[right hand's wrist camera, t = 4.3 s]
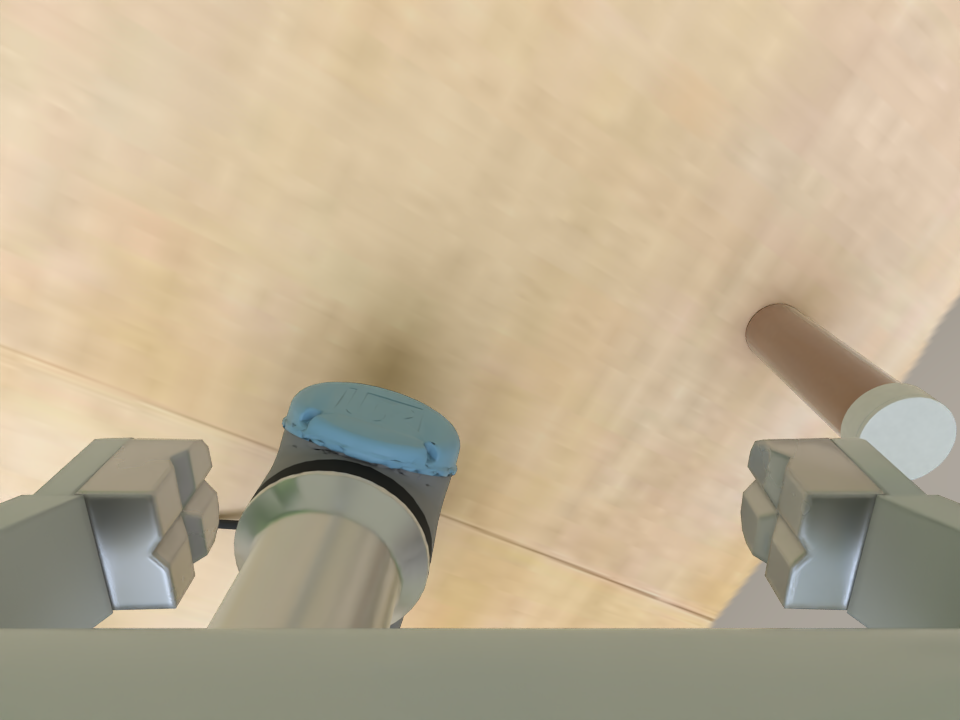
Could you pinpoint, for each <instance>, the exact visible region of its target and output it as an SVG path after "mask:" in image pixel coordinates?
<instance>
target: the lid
mask: <svg viewBox="0 0 960 720" xmlns="http://www.w3.org/2000/svg"><path fill="white" fill-rule="evenodd" d="M841 438H861V439H864V440H867V441H868V442H869V443H870V444H871V445H872V446H873V447H875V448H876V449H877V450H878V451H879V452H880V453H881V454H882V455H883V456H884V457H886V458H887V459H888V460H889V461H890V462H891V463H892V464H893V465H894V466H896V467H897V468H898V469H899V470H900V471H901V472H902V473H903V474H904V475H906V476H907V477H908V478H909V479H910V480H914V479H917V478H919V477H922V476H924V475H926V474H927V473H929V472H931V471H932V470H934V469H935V468H936V467H937V466H939V465H940V464H941V463H942V462H943V461H944V459H945V458H946V457H947V456H948V454H949V453H950V451H951V449H952V447H953V445H954V442H955V438H956V422H955V419H954V417H953V415H952V413H951V412H950V410H949V409H948V408H947V407H946V406H945V405H943V404H942V403H940V402H939V401H938V400H936V399H935V398H933V397H932V396H930V395H929V394H927V393H926V392H924V391H923V390H921V389H920V388H918V387H916V386H914V385H910V384H905V383H890V384H885V385H881V386H878V387H875V388H873V389H871V390H869V391H867V392H866V393H864V394H863V395H861V396H860V397H859V398H858V399H857V400H856V401H855V402H854V403H853V404H852V405H851V406H850V408H849V409H848V410H847V412H846V414H845V416H844V418H843V421H842V425H841Z"/></svg>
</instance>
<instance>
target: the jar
mask: <svg viewBox="0 0 960 720" xmlns="http://www.w3.org/2000/svg"><path fill="white" fill-rule="evenodd" d="M746 341H747V344H748V347H749V348H750V350H751V351H752V352H753V353H754V354H755V355H756V356H757V357H758V358H759V359H760V360H761V361H762V362H763V363H764V364H765V365H766V366H768V367H769V368H770V369H771V370H772V371H773V372H774V373H775V374H776V375H777V376H778V377H779V378H780V379H781V380H782V381H783V382H784V383H785V384H786V385H787V386H788V387H789V388H790V389H791V390H792V391H793V392H794V393H795V394H796V395H797V396H798V397H799V398H800V399H801V400H802V401H803V402H805V403H806V404H807V405H808V406H809V407H810V408H811V409H812V410H813V411H814V412H815V413H816V414H817V415H818V416H819V417H820V418H821V419H822V420H823V421H824V422H825V423H826V424H827V425H828V426H829V427H830V428H831V429H832V430H833V431H834V432H835V433H836V434H837V435H838V436H839V437H840V438H841V425H842V421H843V418H844V416H845V414H846V412H847V410H848V409H849V408H850V406H851V405H852V404H853V403H854V402H855V401H856V400H857V399H858V398H859V397H860V396H861V395H863V394H864V393H866V392H867V391H869V390H871V389H873V388H875V387H878V386H881V385H885V384H890V383H900V382H899V381H898V380H896V379H895V378H893V377H892V376H890V375H889V374H888V373H886V372H885V371H883V370H882V369H881V368H879V367H878V366H876V365H875V364H873V363H872V362H871V361H869V360H868V359H866V358H865V357H863V356H862V355H861V354H859V353H858V352H856V351H855V350H854V349H852V348H851V347H849V346H848V345H846V344H845V343H844V342H842V341H841V340H839V339H838V338H836V337H835V336H834V335H832V334H831V333H829V332H828V331H827V330H825V329H824V328H822V327H821V326H819V325H818V324H817V323H815V322H814V321H812V320H811V319H809V318H808V317H807V316H805V315H804V314H802V313H801V312H799V311H798V310H797V309H795V308H794V307H792V306H789V305H786V304H774V305H770V306H767V307H765V308H763V309H761V310H760V311H759V312H757V313H756V314H755V315H754V316H753V317H752V319H751V320H750V322H749V324H748V326H747V330H746Z"/></svg>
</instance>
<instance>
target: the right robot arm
mask: <svg viewBox="0 0 960 720" xmlns="http://www.w3.org/2000/svg"><path fill="white" fill-rule="evenodd" d="M211 468H212V462H211V457H210V453H209V448H208V446H207V445H206V444H205V442H204V441H203V440H197V439H142V438H137V439H134V438H104V439H95V440H93V441H92V442H91V443H90V444H89V445H88V446H87V447H86V448H85V449H83V450H82V451H81V452H80V453H79V454H78V455H77V456H76V457H75V458H73V459H72V460H71V461H70V462H69V463H68V464H67V465H66V466H65V467H63V468H62V469H61V470H60V471H59V472H58V473H57V474H56V475H55V476H53V477H52V478H51V479H50V480H49V481H48V482H47V483H46V484H45V485H43V486H42V487H41V488H40V489H39V490H38V491H37V492H36V493H35V494H33V495H20V496H18V497H15V498H13V499H10V500H8V501H5V502H3V503H0V720H960V503H957V502H955V501H952V500H950V499H947V498H945V497H942V496H940V495H927V494H925V493H924V492H923V491H922V490H921V489H920V488H919V487H918V486H917V485H915V484H914V483H913V482H912V481H911V480H910V479H909V478H908V477H907V476H906V475H904V474H903V473H902V472H901V471H900V470H899V469H898V468H897V467H896V466H894V465H893V464H892V463H891V462H890V461H889V460H888V459H887V458H886V457H884V456H883V455H882V454H881V453H880V452H879V451H878V450H877V449H876V448H875V447H873V446H872V445H871V444H870V443H869V442H868V441H867V440H864V439H861V438H834V439H829V438H813V439H771V440H759V441H755V442H754V445H753V447H752V449H751V451H750V456H749V462H748V468H749V470H750V471H751V473H752V474H753V476H754V477H755V479H756V480H755V481H754V482H753V483H752V484H751V485H750V486H749V487H748V488H747V489H746V490H745V491H744V492H743V498H742V506H741V522H742V531H743V534H744V537H745V541H746V544H747V545H748V547H749V549H750V551H751V553H752V554H753V555H754V556H755V557H757V558H759V559H760V560H762V561H764V562H765V563H767V566H766V572H765V577H766V578H767V580H768V582H769V583H770V585H771V587H772V589H773V590H774V592H775V594H776V595H777V597H778V599H779V600H780V602H781V604H782V605H783V607H784V608H788V609H825V610H847V613H848V614H849V615H851V616H852V617H853V618H855V619H856V620H857V621H859V622H860V623H862V624H863V625H864V626H866V627H867V628H93V627H95V626H96V625H97V624H99V623H100V622H101V621H103V620H104V619H106V618H107V617H108V616H110V615H111V614H112V613H113V611H112V610H134V609H170V608H176V607H177V605H178V604H179V602H180V600H181V599H182V597H183V595H184V594H185V592H186V590H187V589H188V587H189V585H190V584H191V582H192V580H193V578H194V577H195V572H194V566H193V563H195V562H196V561H198V560H200V559H201V558H203V557H205V556H206V555H207V554H208V553H209V551H210V549H211V547H212V545H213V543H214V542H215V537H216V533H217V529H218V525H219V504H218V497H217V492H216V491H215V490H214V489H213V488H212V487H211V486H210V485H209V484H208V483H207V482H206V481H205V480H204V479H205V477H206V476H207V474H208V473H209V471H210V470H211Z"/></svg>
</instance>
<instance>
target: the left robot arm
mask: <svg viewBox="0 0 960 720" xmlns="http://www.w3.org/2000/svg"><path fill="white" fill-rule="evenodd" d="M282 424H283V427H284V429H285V430H284V434H283V437H282V441H281V445H280V448H279V451H278V454H277V457H276V459H275V462H274V464H273V466H272V468H271V470H270V471H269V473H268V475H267V476H266V478H265V479H264V481H263V482H262V484H261V485H260V487H259V489H258V490H257V492H256V493H255V495H254V496H253V498H252V499H251V501H250V502H249V504H248V506H247V507H246V509H245V510H244V512H243V514H242V516H241V518H240V520H239V521H235V520H219V525H218V528H222V529H236V532H235V539H234V554H235V559H236V564H237V567H238V570H239V573H238V575H237V577H236V579H235V580H234V582H233V584H232V586H231V587H230V589H229V591H228V592H227V594H226V596H225V598H224V599H223V601H222V603H221V605H220V606H219V608H218V610H217V611H216V613H215V615H214V617H213V618H212V620H211V622H210V624H209V625H208V627H207V628H400V626H401V623H402V620H403V617H404V615H406V614H407V613H408V612H409V611H410V610H411V609H412V608H413V606H414V605H415V604H416V603H417V601H418V600H419V598H420V596H421V594H422V592H423V591H424V588H425V585H426V581H427V578H428V574H429V567H430V563H431V557H432V552H433V547H434V541H435V536H436V530H437V525H438V520H439V516H440V512H441V508H442V504H443V501H444V497H445V494H446V491H447V488H448V485H449V482H450V479H451V476H452V475H455V473H456V471H457V466H456V462H457V458H458V454H459V450H460V440H459V436H458V434H457V432H456V430H455V428H454V427H453V426H452V424H451V423H450V422H449V421H448V420H447V419H446V418H445V417H444V416H442V415H441V414H440V413H438V412H437V411H435V410H433V409H432V408H430V407H429V406H427V405H425V404H423V403H421V402H419V401H417V400H415V399H412V398H410V397H408V396H405V395H402V394H400V393H397V392H394V391H391V390H387V389H383V388H380V387H375V386H370V385H365V384H359V383H349V382H326V383H319V384H315V385H311V386H309V387H306V388H304V389H303V390H301V391H300V392H299V393H298V394H297V395H296V396H295V397H294V398H293V400H292V402H291V405H290V408H289V411H288V414H287V416H286V417H285V418H284V419H283V422H282Z"/></svg>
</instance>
